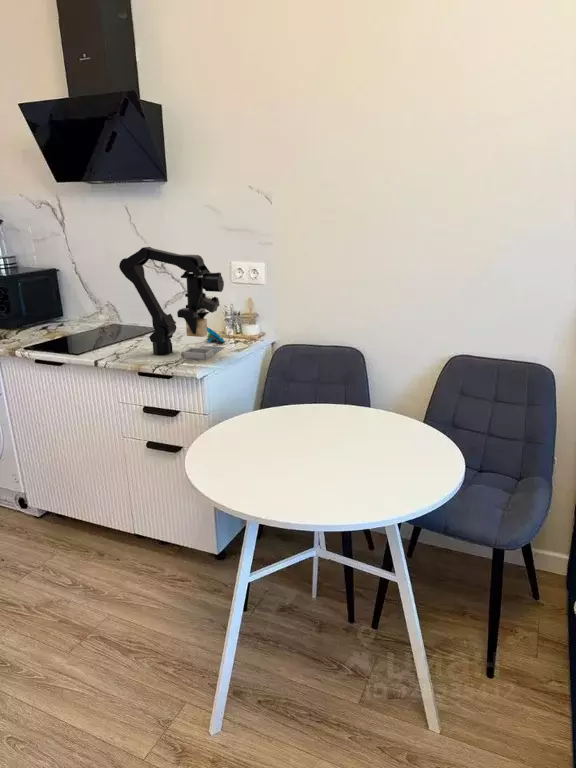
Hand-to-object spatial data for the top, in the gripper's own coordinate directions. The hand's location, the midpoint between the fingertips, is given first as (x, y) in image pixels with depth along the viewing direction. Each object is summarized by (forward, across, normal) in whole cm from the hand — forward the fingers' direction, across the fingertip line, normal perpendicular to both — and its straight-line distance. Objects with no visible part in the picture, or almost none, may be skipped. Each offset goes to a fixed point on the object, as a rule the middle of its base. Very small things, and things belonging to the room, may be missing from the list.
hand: (196, 332), depth 205 cm
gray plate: (+10, +5, 0) cm, 11 cm away
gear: (+10, +24, +3) cm, 26 cm away
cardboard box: (+1, 0, 0) cm, 1 cm away
